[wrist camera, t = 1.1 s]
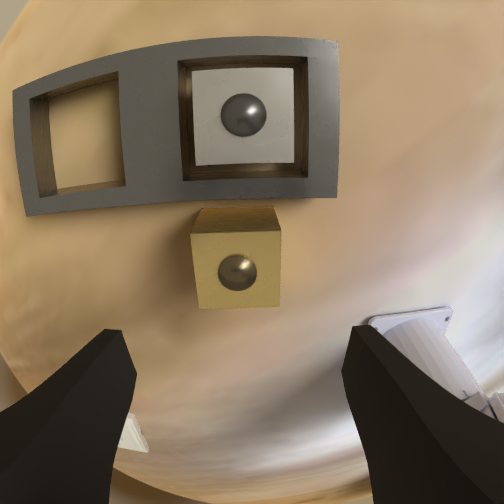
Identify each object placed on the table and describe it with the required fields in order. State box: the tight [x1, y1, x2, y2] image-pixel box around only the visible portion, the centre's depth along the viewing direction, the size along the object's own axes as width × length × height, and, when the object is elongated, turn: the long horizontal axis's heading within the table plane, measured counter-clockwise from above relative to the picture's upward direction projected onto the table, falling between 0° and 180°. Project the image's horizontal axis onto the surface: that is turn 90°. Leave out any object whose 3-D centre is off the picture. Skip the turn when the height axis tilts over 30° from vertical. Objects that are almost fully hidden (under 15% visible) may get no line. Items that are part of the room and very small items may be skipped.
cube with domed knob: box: [192, 68, 294, 166], centre depth 13 cm, size 4×4×4 cm
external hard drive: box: [118, 413, 149, 453], centre depth 26 cm, size 2×8×12 cm
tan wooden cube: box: [190, 206, 281, 309], centre depth 16 cm, size 4×4×4 cm
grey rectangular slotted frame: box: [13, 36, 340, 216], centre depth 13 cm, size 8×18×2 cm, turn 91°
